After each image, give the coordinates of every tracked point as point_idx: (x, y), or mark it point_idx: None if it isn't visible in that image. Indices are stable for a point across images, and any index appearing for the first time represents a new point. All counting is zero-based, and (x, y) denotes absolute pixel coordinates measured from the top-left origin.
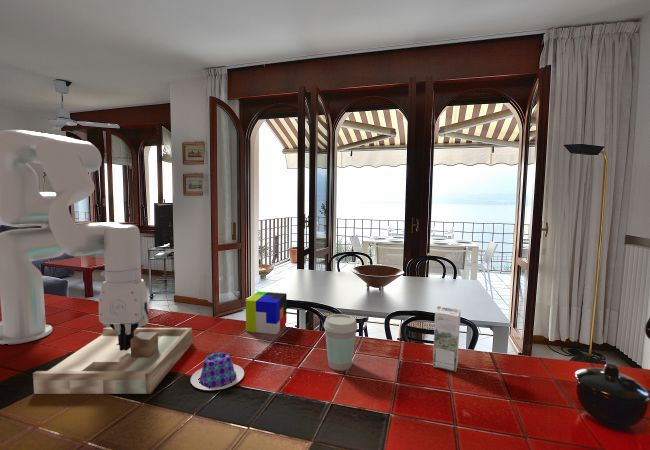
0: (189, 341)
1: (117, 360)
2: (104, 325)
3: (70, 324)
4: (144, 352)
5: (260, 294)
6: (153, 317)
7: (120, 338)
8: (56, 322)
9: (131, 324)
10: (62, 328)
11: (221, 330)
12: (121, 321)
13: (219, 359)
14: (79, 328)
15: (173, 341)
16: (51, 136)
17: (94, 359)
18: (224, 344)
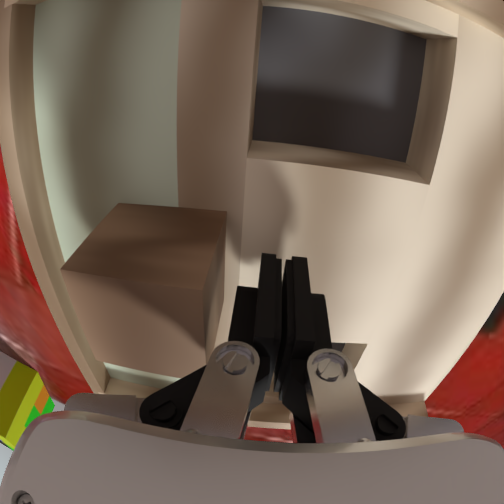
0: None
1: (296, 181)
2: (446, 419)
3: (478, 422)
4: (132, 219)
5: (11, 447)
6: None
7: (303, 318)
8: (496, 421)
9: (183, 427)
10: (492, 410)
11: (91, 392)
12: (250, 475)
13: None
14: (466, 416)
15: None
16: None
17: (431, 213)
18: (30, 324)
